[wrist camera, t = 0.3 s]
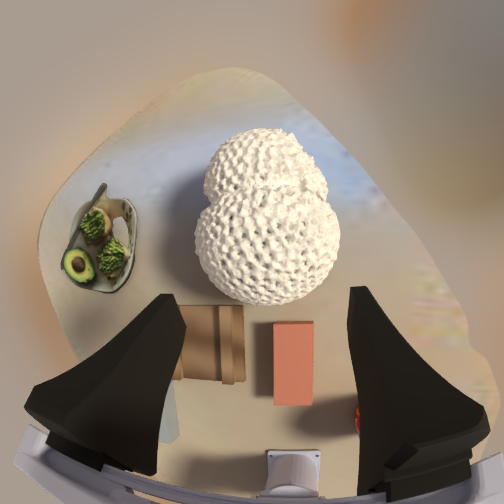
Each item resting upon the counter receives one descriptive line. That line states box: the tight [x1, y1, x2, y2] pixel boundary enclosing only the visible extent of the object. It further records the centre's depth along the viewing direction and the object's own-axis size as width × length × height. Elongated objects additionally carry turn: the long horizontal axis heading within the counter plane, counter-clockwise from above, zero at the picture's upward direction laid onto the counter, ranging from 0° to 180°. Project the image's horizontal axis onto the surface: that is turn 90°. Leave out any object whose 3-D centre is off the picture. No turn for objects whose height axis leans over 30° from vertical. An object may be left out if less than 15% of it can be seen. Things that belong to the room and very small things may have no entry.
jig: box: [171, 305, 246, 385], centre depth 39 cm, size 11×12×2 cm
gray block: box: [158, 380, 180, 444], centre depth 38 cm, size 10×5×4 cm, turn 3°
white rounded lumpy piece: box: [194, 128, 340, 306], centre depth 33 cm, size 20×18×16 cm
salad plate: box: [61, 183, 138, 293], centre depth 45 cm, size 19×18×5 cm
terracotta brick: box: [273, 321, 314, 405], centre depth 36 cm, size 11×5×4 cm, turn 1°
